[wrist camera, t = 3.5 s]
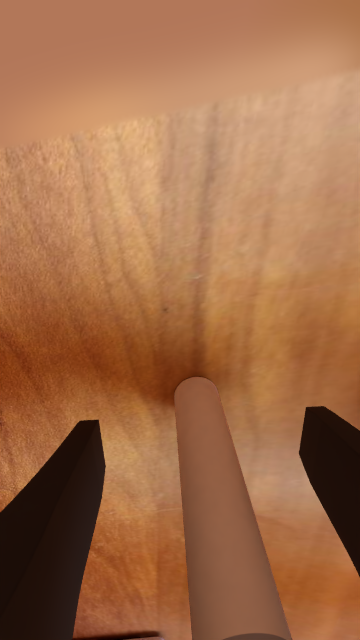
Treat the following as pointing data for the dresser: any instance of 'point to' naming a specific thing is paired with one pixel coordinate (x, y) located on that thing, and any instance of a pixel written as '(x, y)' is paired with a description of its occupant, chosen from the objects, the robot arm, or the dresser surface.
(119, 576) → the dresser surface
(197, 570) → the stylus
